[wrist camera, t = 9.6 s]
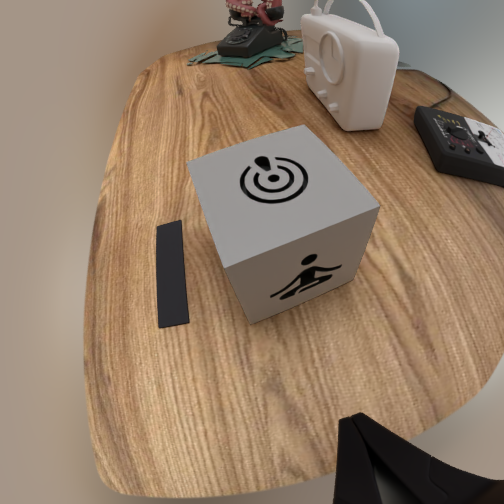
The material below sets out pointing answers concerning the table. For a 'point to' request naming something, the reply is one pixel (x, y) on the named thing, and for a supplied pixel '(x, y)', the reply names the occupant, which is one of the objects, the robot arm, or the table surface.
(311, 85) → the radio
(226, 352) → the table surface
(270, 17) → the telephone
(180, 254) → the felt mark
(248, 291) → the icon cube
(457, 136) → the multimeter
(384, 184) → the table surface
